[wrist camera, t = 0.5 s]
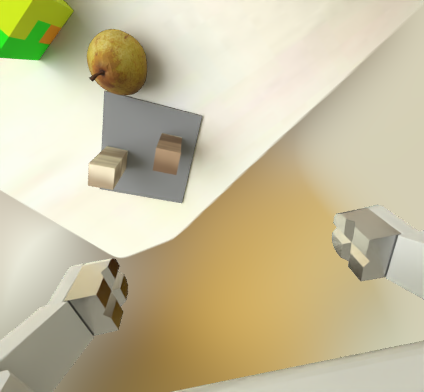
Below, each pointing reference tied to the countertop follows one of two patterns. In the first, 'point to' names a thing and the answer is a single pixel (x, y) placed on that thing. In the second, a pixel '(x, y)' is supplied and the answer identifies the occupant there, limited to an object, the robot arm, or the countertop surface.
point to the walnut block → (167, 154)
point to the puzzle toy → (30, 26)
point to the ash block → (107, 167)
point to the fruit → (117, 62)
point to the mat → (148, 144)
